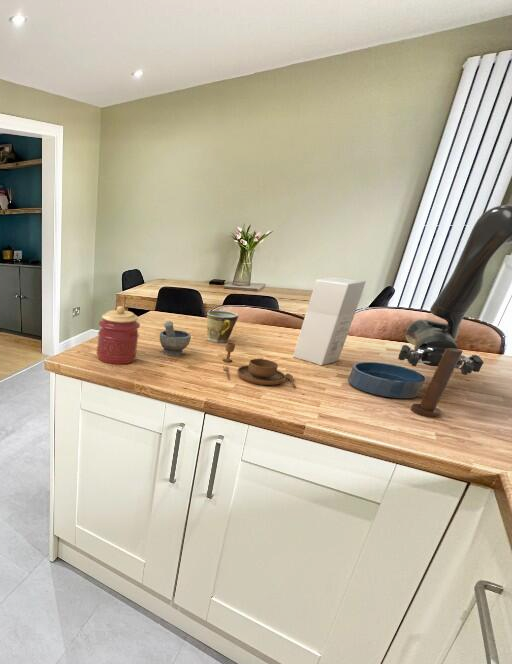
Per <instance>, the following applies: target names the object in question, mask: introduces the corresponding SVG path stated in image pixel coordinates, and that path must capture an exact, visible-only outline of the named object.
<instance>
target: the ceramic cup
mask: <svg viewBox="0 0 512 664" xmlns="http://www.w3.org/2000/svg"><path fill="white" fill-rule="evenodd" d="M238 318H239V314H238V313H237V312H234V311H229V310H209V311H207V313H206V339H207V340H208V341H209V342H212V343H216V344H217V343H219V344H224V343H228V342H229V339H230V336H231V334H232V332H233V330H234V327H235V325H236V323H237V321H238Z"/></svg>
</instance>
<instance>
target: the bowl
mask: <svg viewBox="0 0 512 664" xmlns="http://www.w3.org/2000/svg"><path fill="white" fill-rule="evenodd" d="M347 382H348V384H349V385H351V386H352V387H354V388H356V389H358V390H360V391H363V392H365V393H368V392H369V394H371V395H375V396H380V397H385V398H390V399H413V398H416V397H418V396H419V394H420V393H421V390H422V389H423V386H424V384H425V382H426V376H424V374H422V373H420V372H419V371H416V370H414V369H411V368H408V367H405V366H400V365H398V364H397V365H396V364H392V363H386V362H378V361H359V362H355V363H353V365H352V367H351V370H350V373H349V376H348V378H347Z"/></svg>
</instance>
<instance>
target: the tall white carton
mask: <svg viewBox="0 0 512 664" xmlns="http://www.w3.org/2000/svg"><path fill="white" fill-rule="evenodd" d="M366 283H367V282H366V280H361V279H360V280H359V279H353V278H345V277H337V276H331V277H325V278H319V279H316V280H315V282H314V285H313V289H312V292H311V296H310V299H309V301H308V302H309V303H308V305H307V309H306V312H305V315H304V318H303V322H302V325H301V329H300V331H299V335H298V339H297V341H296V345H295V349H294V352H293V355H292V357H293V358H296V359H299V360H302V361H305V362H309V363H312V364H315V365H319V366H324V365H328V364H332V363H334V362H338V361H339V360H340V358H341V355H342V353H343V352H342V351H343V349H344V346H345V344H346V341H347V337H348V334H349V332H350V329H351V327H352V323H353V321H354V318H355V314H356V312H357V309H358V305H359V303H360V300H361V297H362V294H363V291H364V288H365V285H366Z"/></svg>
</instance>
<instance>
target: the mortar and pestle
mask: <svg viewBox="0 0 512 664" xmlns="http://www.w3.org/2000/svg"><path fill="white" fill-rule="evenodd" d="M163 326H164V328H165V329H164V330H161V331H159V343H160V345H161V347H162V348H163V349H162V353H163V354H164V355H166V356H169V357H179V356H182V355H183V350H185V349H186V348H187V347H188V346H189V344H190V341H191V338H192V335H191V333H190V332H187V331H186V330H185V331H184V330H179V329H174V323H173V322H172V321H171V320H169V321H166V322H165V323H164V324H163Z"/></svg>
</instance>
